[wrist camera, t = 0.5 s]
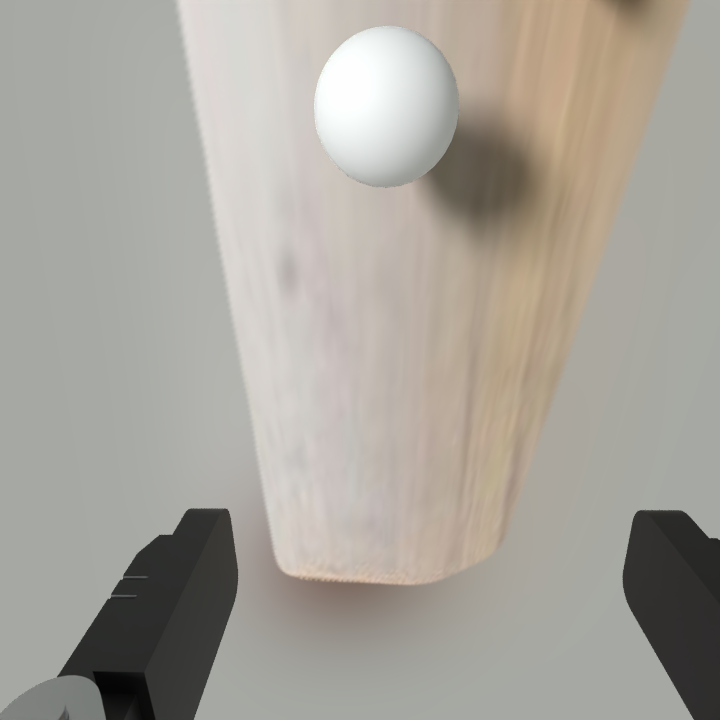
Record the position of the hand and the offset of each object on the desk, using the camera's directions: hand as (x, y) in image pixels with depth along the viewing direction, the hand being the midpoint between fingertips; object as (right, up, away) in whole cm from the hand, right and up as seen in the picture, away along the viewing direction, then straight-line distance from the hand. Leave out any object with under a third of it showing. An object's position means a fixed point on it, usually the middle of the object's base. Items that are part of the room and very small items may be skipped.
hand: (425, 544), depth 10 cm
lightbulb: (0, +18, +18) cm, 26 cm away
